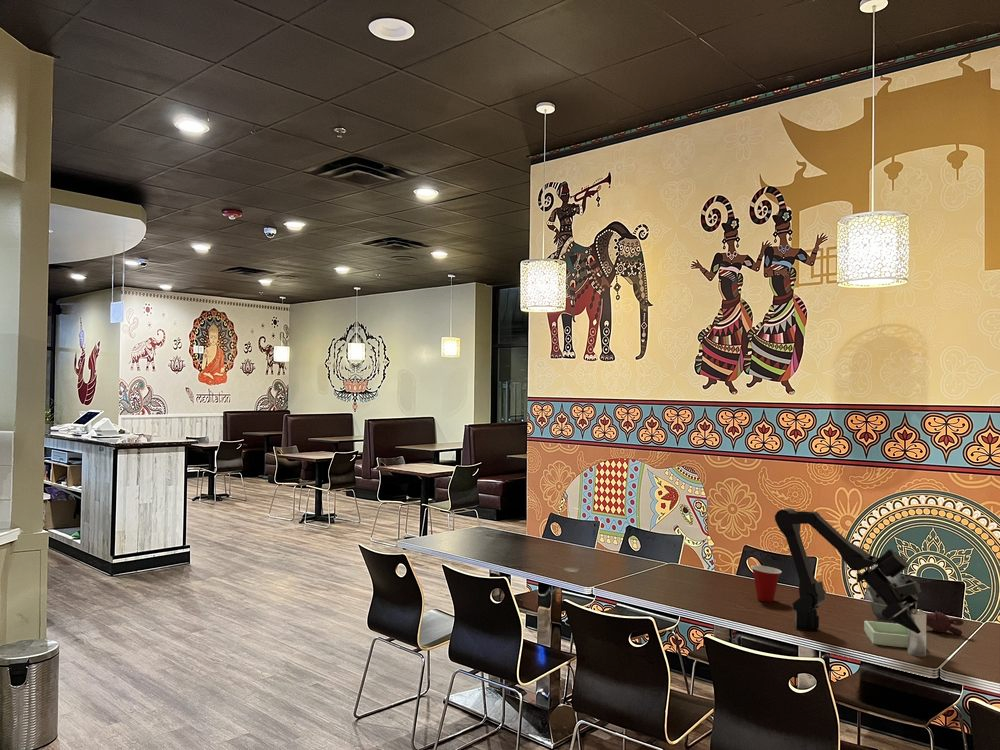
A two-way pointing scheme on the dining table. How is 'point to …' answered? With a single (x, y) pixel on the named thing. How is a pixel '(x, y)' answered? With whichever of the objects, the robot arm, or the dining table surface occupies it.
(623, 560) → the dining table surface
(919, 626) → the cylinder with three balls
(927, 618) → the icecream
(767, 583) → the plastic cup
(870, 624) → the pale green bin
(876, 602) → the mortar and pestle
